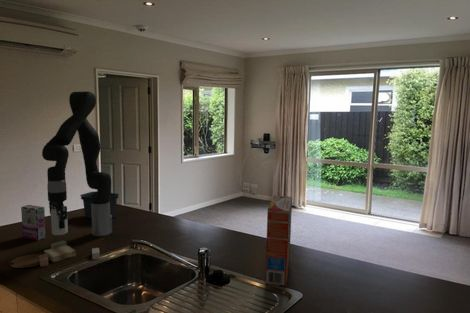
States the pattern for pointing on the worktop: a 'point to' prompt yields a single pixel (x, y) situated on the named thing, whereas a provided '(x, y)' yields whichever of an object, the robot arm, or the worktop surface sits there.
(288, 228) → the pasta box
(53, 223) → the can
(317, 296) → the worktop surface
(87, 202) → the storage bin
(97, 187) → the robot arm
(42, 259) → the brick terracotta
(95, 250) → the brick cream
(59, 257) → the oak pad
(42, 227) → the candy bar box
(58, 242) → the brick sage
